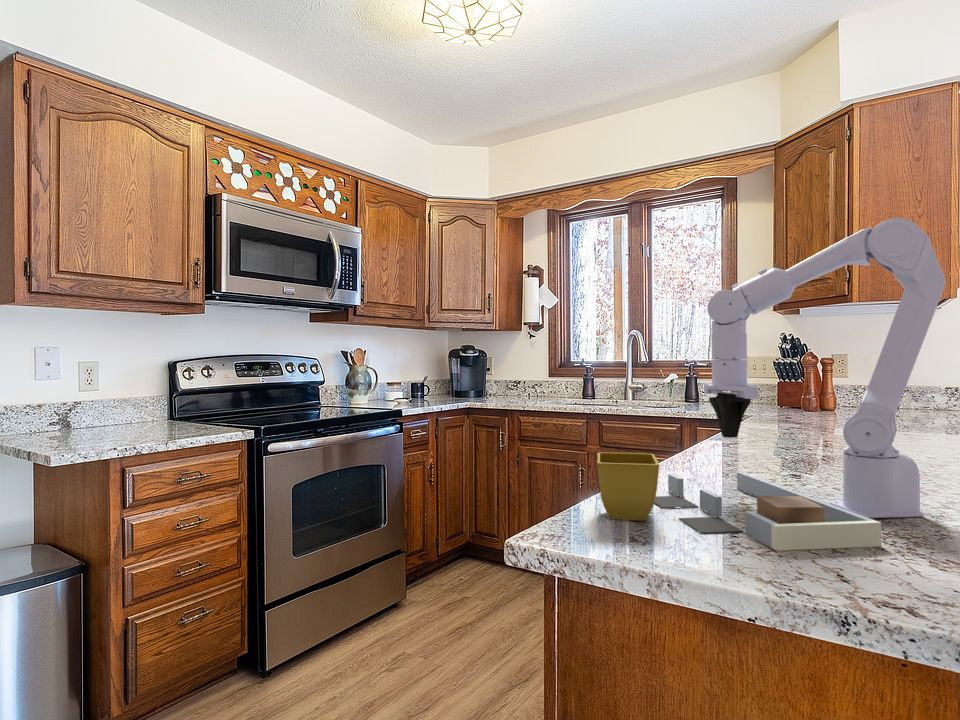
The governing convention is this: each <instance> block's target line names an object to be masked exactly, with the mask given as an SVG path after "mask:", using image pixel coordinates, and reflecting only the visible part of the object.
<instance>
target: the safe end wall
mask: <svg viewBox="0 0 960 720" xmlns="http://www.w3.org/2000/svg"><path fill="white" fill-rule="evenodd" d="M771 547H772V548H771ZM771 547H770V548H771V549H773V550H774V551H798V550H799V551H802V550H804V551H805V550H821V549H822V550H824V549H825V550H826V549H827V550H828V549H850V548H851V549H852V548H870V547H871V548H872V547H873V548H875V547H876V548H877V547H882V522H880V521H877V520H876V519H873V520H872V521H845V522H818V523H791V524H771Z"/></svg>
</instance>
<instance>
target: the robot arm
mask: <svg viewBox="0 0 960 720" xmlns="http://www.w3.org/2000/svg"><path fill="white" fill-rule="evenodd" d="M870 259H874V261H875V262H876V264H878V265H879V266H880V267H882V268H884V269H885V270H886V271H888V272H890V273H891V274H893V276H894V278H895V279H896V280H897V282H898V283H899V284H900V285H901V287H902V288H903V292H902V295H901V297H900V301H899V303H898V305H897V309H896V311H895V314H894V316H893V319H892V321H891V323H890V326H889V330H888V332H887V334H886V338H885V340H884V343H883V346H882V348H881V351H880V353H879V356H878V359H877V361H876V363H875V367H874V369H873V372H872V375H871V378H870V380H869V382H868V386H867V388H866V391H865V392H864V395H863V397H862V400H861V402H860V404H859V407H858V409H857V411H856V412H855V413H854V414H853V415H852V416H851V417H849V418H848V419H847V420H846V421H845V423H844V426H843V430H842V433H843V439H844V440H845V441H844V442H845V443H846V445H848V446H846V447H843V448H842V487H843V489H842V490H843V491H842V501H830V502H829V504H831V505H834V506H837V507H840V508H842V509H845V510H848V511H851V512H853V513H856V514H859V515H862V516H864V517H867V518H870V519H881V518H886V519H887V518H888V519H889V518H906V517H907V518H909V517H911V518H912V517H913V518H915V517H924V516H926V515H925V514H926V513H925V512H922V511H921V496H920V495H921V491H920V490H921V489H920V488H921V487H920V485H921V481H920V480H921V479H920V478H921V475H920V470H919V467H918V465H917V463H916V462H915V460H914V459H913V458H912V457H910V456H909V455H907V454H903V453H900V450H899V449H896V448H895V447H894V446H893V443H894V440H895V437H896V434H897V424H896V413H897V411H898V408H899V406H900V403H901V401H902V398H903V395H904V393H905V390H906V387H907V385H908V383H909V380H910V378H911V374H912V372H913V369H914V367H915V363H916V362H917V360H918V356H919V354H920V352H921V349H922V346H923V344H924V341H925V338H926V336H927V334H928V332H929V328H930V325H931V323H932V321H933V317H934V315H935V314H936V311H937V307H938V304H939V302H940V300H941V297H942V295H943V293H944V290H945V286H946V277H945V274H944V272H943V269H942V267H941V265H940V262H939V259H938V257H937V255H936V253H935V250H934V247H933V243H932V241H931V239H930V237H929V235H928V234H927V233H925V231H923V229H921V227H919V226H918V225H917V223H915V222H914V221H912V220H910V219H907V218H903V217H892V218H889V219H886V220H882V221H881V222H879V223H878V224H877V225H875V226H874V227H872V226H869V227H867V228H864V229H861V230H859V231H857V232H855V233H854V234H851V235H850V236H847V237H845V238H844V239H842V240H840V241H838V242H835V243H834V244H832V245H830V246H828V247H826V248H824V249H823V250H821V251H819V252H817V253H815V254H814V255H812V256H810V257H808V258H806V259H804V260H803V261H801V262H799V263H797V264H795V265H793V266H792V267H789V268H788V269H782V268H777V267H773V268H771V269H768V268H765V267H764V268H762V269H761V270H758V272H757V273H758V275H757V276H755V277H752V278H751V279H749V280H747V281H745V282H743V283H741V284H739V283H735V284H733V285H731V288H732V289H720V290H719V291H717V292H716V293H715V294H713V295H712V296H711V297H710V299H709V300H708V303H707V306H706V307H707V314H708V315H709V318H710V319H711V383H710V382H708V383H707V382H706V383H705V382H704V390H703V391H704V394H706V395H707V394H708V395H709V394H711V395H716V396H715V397H714V396H713V397H710V396H709V397H708V401H709V403H710V404H711V406H712V409H713V410H714V413H715V415H716V418H717V421H718V426H719V429H720V433H721V437H723V438H728V439H729V438H738V435H739V433H740V427H741V424H742V420H743V417H744V416H745V413H746V411H747V409H748V408H749V406H750V404H751V403H752V401H751V400H752V399H755V400H756V399H759V386H753V385H749V384H748V340H747V339H748V334H747V321H748V319H749V317H750V316H751V315H753V316H755V315H757V314H759V313H761V312H763V311H765V310H768V309H770V308H771V307H774V306H777V305H778V304H780V303H783V302H784V301H787V300H789V299H791V298H792V295H793V293H794V291H795V289H796V287H799V286H802V285H803V284H806V283H808V282H810V281H812V280H814V279H817V278H819V277H822V276H825V275H827V274H830V273H831V272H834V271H837V270H838V269H841V268H844V267H845V266H849V265H850V266H871V261H870Z"/></svg>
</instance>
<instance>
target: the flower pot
mask: <svg viewBox="0 0 960 720" xmlns="http://www.w3.org/2000/svg"><path fill="white" fill-rule="evenodd" d="M596 456H597V475H598V483H599V492H600V499H601V501H602V504H603V508H604V510H605V512H606V513H607V516H608V518H609V519H611V520H622V521H623V520H624V521H625V520H627V521H639V522H641V521H646V520H647V518H648V517H649V515H650V513H651V511H652V509H653V508H654V505H655V504H654V501H655V497H656V496H657V490H658V482H659V481H658V479H659V470H660V464H659V461H658V459H657V458H656V455H654V454H653V453H643V452H642V453H640V452H638V453H637V452H605V451H603V452H597V454H596Z"/></svg>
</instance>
